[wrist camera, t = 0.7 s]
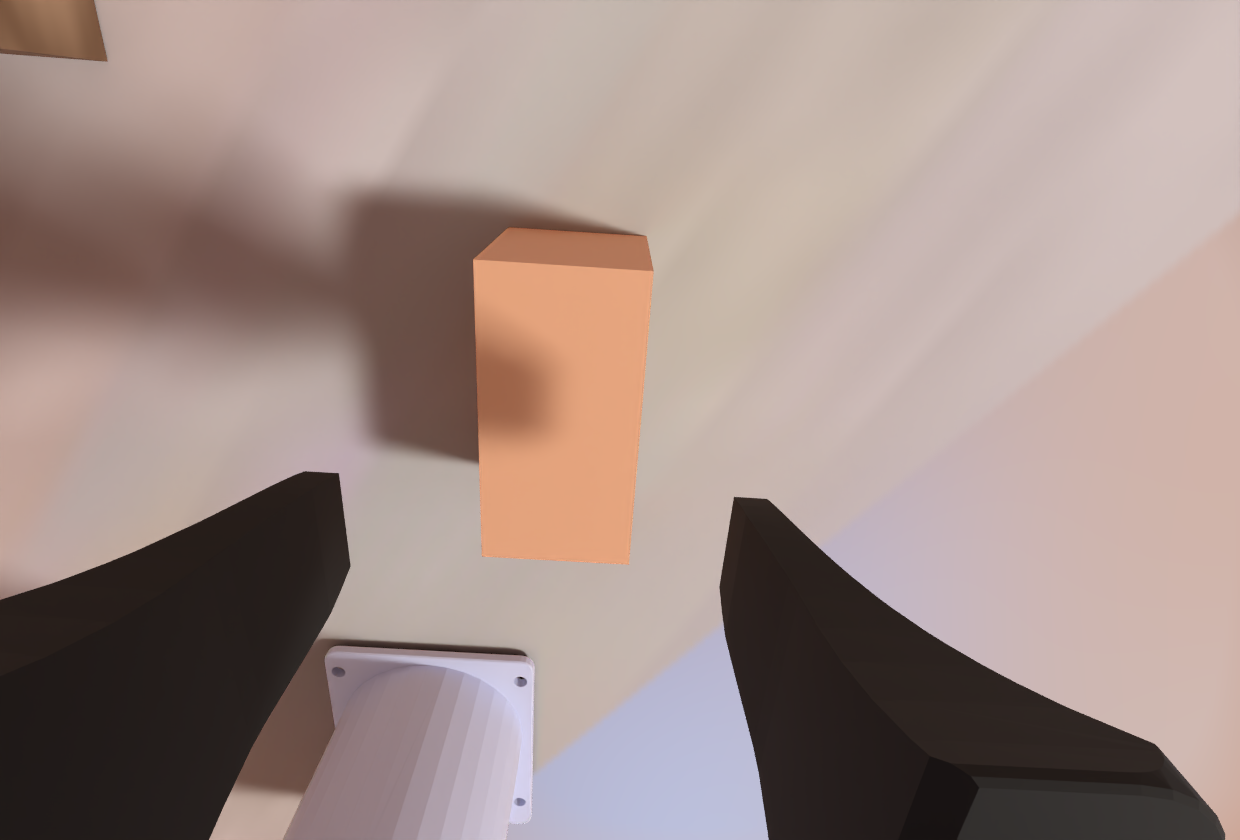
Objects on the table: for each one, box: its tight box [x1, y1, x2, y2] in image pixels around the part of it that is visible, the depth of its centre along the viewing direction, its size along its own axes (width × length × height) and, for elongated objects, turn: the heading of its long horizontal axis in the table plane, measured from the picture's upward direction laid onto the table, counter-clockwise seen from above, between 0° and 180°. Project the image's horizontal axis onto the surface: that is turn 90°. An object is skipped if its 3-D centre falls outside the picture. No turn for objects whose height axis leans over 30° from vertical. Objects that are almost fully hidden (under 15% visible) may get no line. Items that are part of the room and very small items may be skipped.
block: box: [473, 227, 653, 565], centre depth 18 cm, size 8×4×5 cm, turn 176°
